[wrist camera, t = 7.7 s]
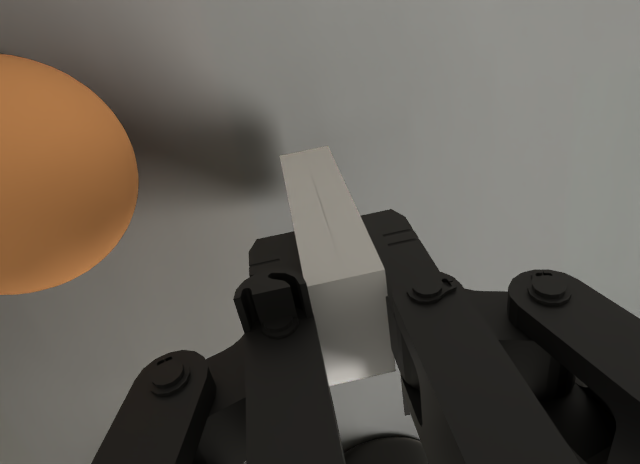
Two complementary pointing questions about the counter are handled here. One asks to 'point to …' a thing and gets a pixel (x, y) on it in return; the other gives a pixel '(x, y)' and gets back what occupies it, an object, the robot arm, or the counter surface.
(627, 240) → the counter surface
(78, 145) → the ball
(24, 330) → the counter surface
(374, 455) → the supplement bottle
